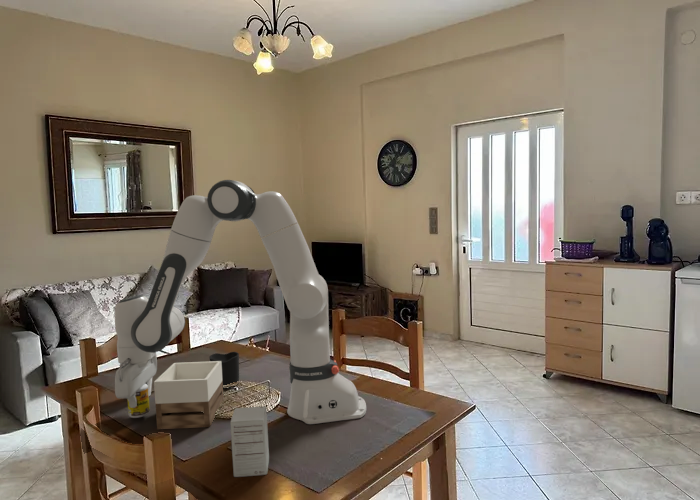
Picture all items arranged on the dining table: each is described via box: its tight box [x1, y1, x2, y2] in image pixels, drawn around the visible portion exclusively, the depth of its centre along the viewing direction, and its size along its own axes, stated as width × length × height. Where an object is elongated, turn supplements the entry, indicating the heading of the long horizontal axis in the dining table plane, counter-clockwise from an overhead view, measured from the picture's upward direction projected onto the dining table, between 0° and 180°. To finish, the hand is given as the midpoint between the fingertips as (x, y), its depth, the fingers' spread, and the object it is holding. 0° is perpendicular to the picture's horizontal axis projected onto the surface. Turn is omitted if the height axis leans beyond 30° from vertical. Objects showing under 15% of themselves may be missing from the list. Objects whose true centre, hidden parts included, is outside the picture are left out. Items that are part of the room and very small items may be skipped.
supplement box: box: [230, 405, 270, 478], centre depth 109 cm, size 7×7×13 cm
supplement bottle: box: [126, 383, 151, 419], centre depth 138 cm, size 6×6×10 cm
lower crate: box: [155, 381, 225, 430], centre depth 138 cm, size 14×16×7 cm
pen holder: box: [208, 351, 240, 385], centre depth 162 cm, size 9×9×10 cm
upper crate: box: [153, 360, 223, 405], centre depth 138 cm, size 14×16×6 cm
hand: (139, 401), depth 138 cm, fingers closed on supplement bottle, 6 cm apart
